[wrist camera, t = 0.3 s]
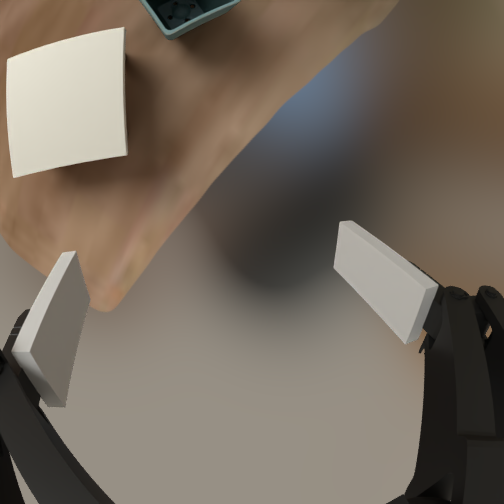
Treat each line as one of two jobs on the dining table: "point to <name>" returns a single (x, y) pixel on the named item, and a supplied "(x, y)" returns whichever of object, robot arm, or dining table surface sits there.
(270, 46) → the dining table surface
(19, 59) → the footstool
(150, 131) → the dining table surface
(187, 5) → the flower pot
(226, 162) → the dining table surface
